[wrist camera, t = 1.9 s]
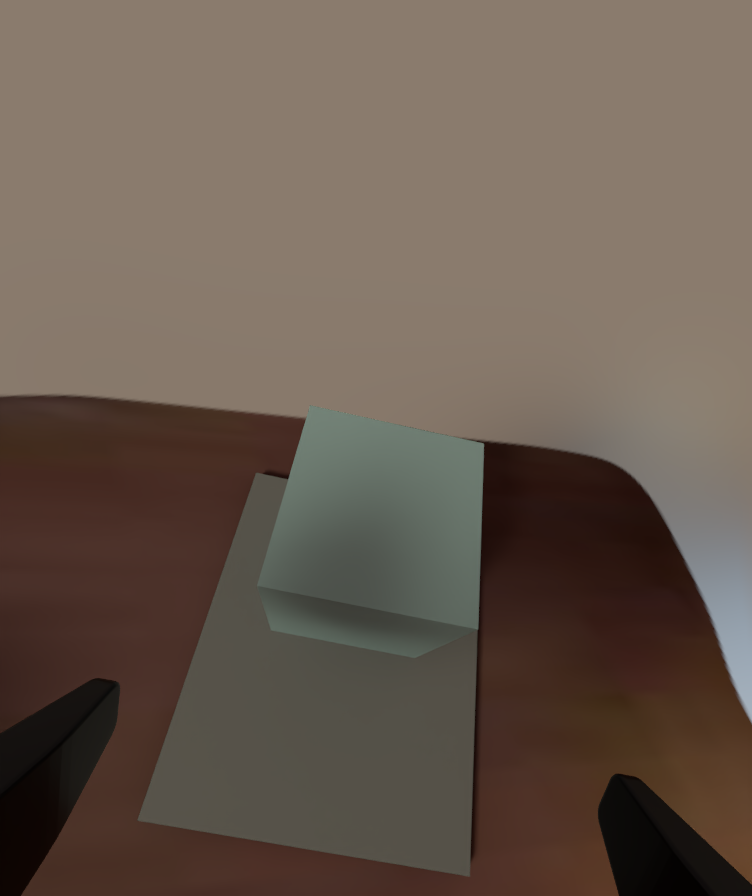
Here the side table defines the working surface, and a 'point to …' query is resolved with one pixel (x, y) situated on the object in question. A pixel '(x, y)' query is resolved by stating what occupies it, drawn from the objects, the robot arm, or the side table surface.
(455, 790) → the mat
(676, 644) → the side table surface
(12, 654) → the side table surface
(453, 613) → the block
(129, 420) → the side table surface
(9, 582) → the side table surface
